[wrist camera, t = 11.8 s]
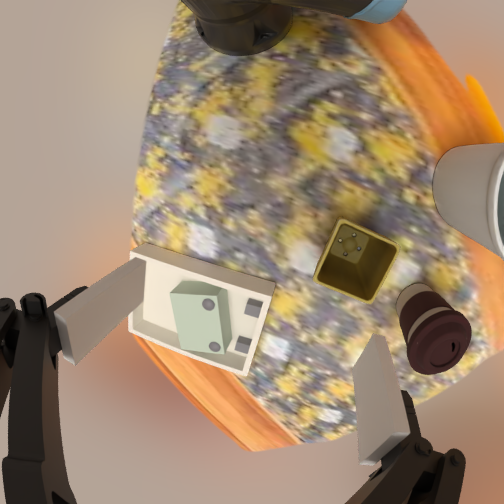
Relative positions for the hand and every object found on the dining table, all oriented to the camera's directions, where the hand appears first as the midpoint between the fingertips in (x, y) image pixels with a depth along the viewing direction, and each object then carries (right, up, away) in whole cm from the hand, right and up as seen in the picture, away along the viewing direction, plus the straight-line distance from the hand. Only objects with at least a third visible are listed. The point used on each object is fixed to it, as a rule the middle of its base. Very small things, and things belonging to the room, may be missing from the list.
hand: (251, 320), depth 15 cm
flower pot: (+15, +5, +26) cm, 31 cm away
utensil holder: (+34, +14, +19) cm, 42 cm away
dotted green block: (-8, -7, +34) cm, 35 cm away
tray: (-9, -6, +35) cm, 37 cm away
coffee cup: (+28, -5, +27) cm, 39 cm away
